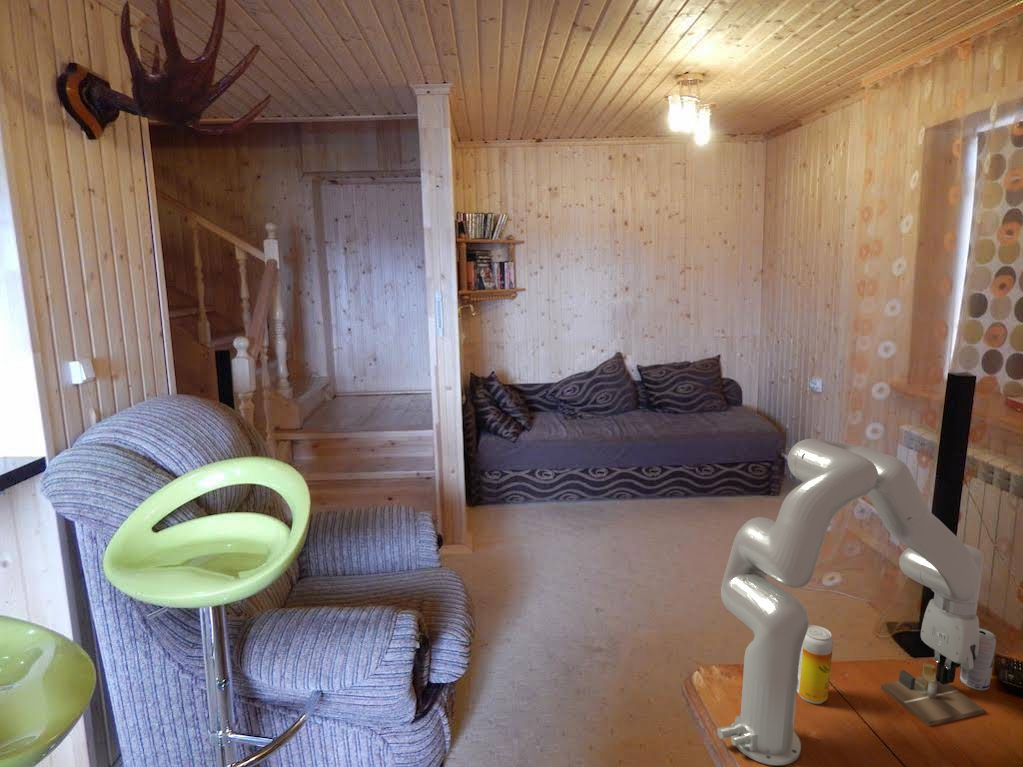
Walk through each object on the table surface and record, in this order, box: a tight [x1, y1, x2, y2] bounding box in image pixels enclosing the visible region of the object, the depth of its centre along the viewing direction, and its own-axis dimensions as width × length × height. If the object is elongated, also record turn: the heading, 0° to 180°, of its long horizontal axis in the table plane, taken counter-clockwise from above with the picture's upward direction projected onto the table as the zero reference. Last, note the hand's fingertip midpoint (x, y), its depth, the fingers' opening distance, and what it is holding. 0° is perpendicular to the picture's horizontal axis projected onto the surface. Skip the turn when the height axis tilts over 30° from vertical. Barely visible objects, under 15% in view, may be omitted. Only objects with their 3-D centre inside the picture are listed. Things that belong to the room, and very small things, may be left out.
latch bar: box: [921, 662, 937, 691], centre depth 141 cm, size 5×2×3 cm, turn 155°
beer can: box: [797, 624, 834, 705], centre depth 139 cm, size 6×6×15 cm
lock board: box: [880, 669, 985, 727], centre depth 138 cm, size 14×12×4 cm
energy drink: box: [959, 627, 997, 692], centre depth 143 cm, size 5×5×12 cm
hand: (944, 681), depth 141 cm, fingers closed
